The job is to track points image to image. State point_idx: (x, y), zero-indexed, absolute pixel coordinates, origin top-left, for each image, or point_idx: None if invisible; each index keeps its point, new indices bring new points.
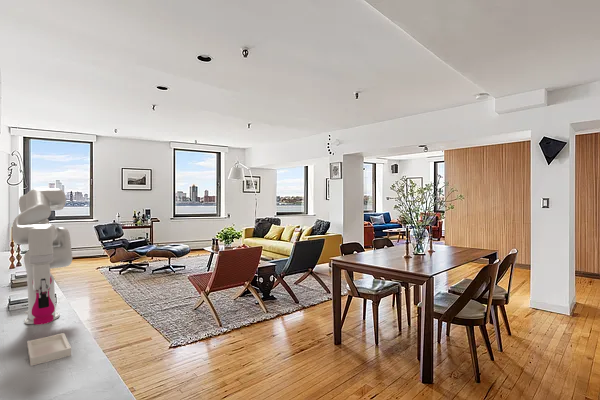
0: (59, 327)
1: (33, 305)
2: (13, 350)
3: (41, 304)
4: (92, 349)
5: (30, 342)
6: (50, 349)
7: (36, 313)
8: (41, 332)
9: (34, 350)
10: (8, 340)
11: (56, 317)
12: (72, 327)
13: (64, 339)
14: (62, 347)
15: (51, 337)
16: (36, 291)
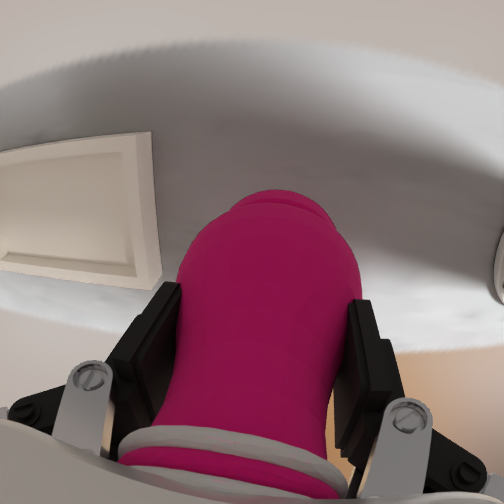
0: (372, 288)
1: (271, 257)
2: (167, 74)
3: (132, 323)
4: (30, 308)
5: (107, 149)
6: (45, 215)
7: (195, 238)
8: (368, 211)
9: (63, 162)
10: (367, 61)
11: (500, 299)
12: None
13: (67, 272)
14: (45, 250)
15: (133, 237)
16: (147, 444)
